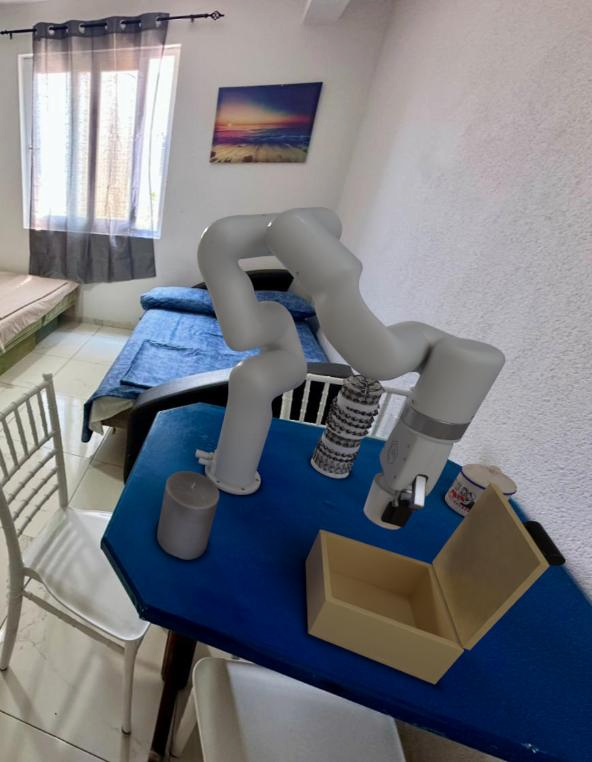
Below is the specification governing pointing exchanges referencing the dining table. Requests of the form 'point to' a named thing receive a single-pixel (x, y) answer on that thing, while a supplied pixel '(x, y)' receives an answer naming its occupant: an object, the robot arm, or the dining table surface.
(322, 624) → the hinged wooden box
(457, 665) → the dining table surface
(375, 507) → the white short cylinder
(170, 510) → the pillar candle
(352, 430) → the white patterned cylinder
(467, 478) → the teacup with lid
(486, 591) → the lid
